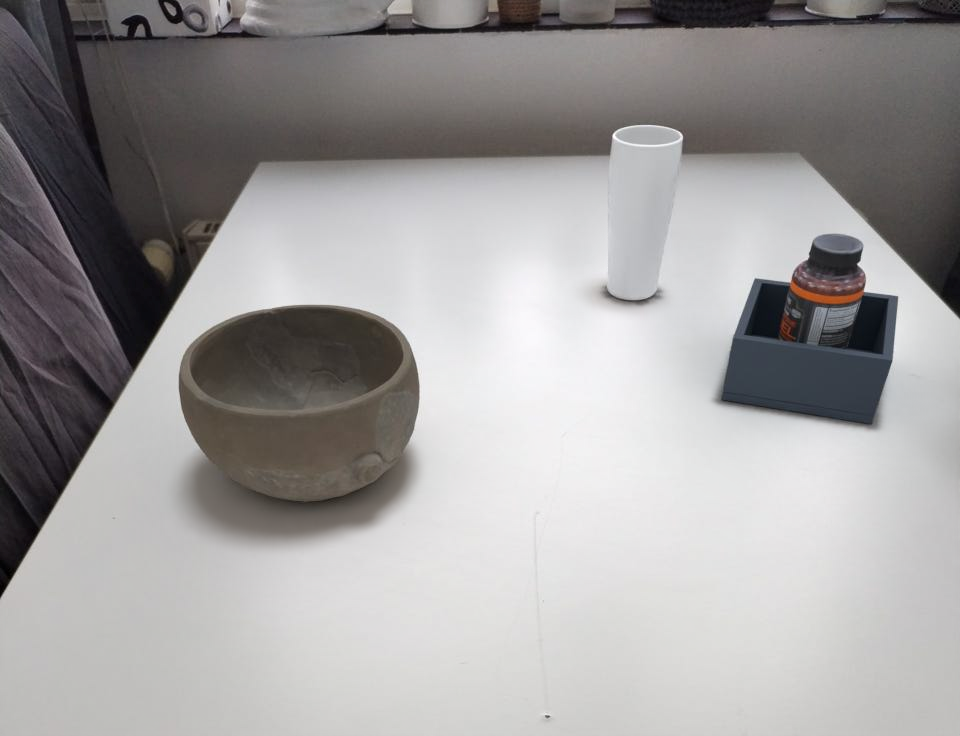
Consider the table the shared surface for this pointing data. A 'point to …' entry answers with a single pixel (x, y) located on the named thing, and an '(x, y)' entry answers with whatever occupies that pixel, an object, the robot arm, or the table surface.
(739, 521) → the table surface
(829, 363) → the bin
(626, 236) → the drinking glass
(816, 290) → the supplement bottle
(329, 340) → the bowl
